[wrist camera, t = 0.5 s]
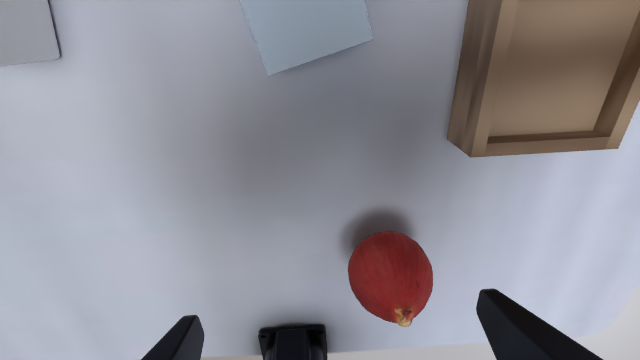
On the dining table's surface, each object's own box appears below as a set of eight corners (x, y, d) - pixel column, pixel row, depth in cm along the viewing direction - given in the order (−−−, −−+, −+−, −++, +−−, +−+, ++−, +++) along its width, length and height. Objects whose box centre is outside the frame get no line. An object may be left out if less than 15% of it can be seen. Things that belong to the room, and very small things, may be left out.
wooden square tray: (569, 130, 21) (617, 148, 18) (444, 137, 21) (470, 157, 18) (622, -21, 17) (698, -33, 14) (468, -13, 17) (507, -24, 14)
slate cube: (356, 37, 18) (373, 39, 13) (277, 64, 18) (267, 75, 14) (332, -65, 15) (343, -104, 11) (243, -31, 16) (218, -54, 11)
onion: (423, 248, 25) (469, 336, 18) (362, 276, 26) (383, 368, 19) (395, 198, 23) (437, 276, 15) (330, 231, 24) (341, 317, 17)
